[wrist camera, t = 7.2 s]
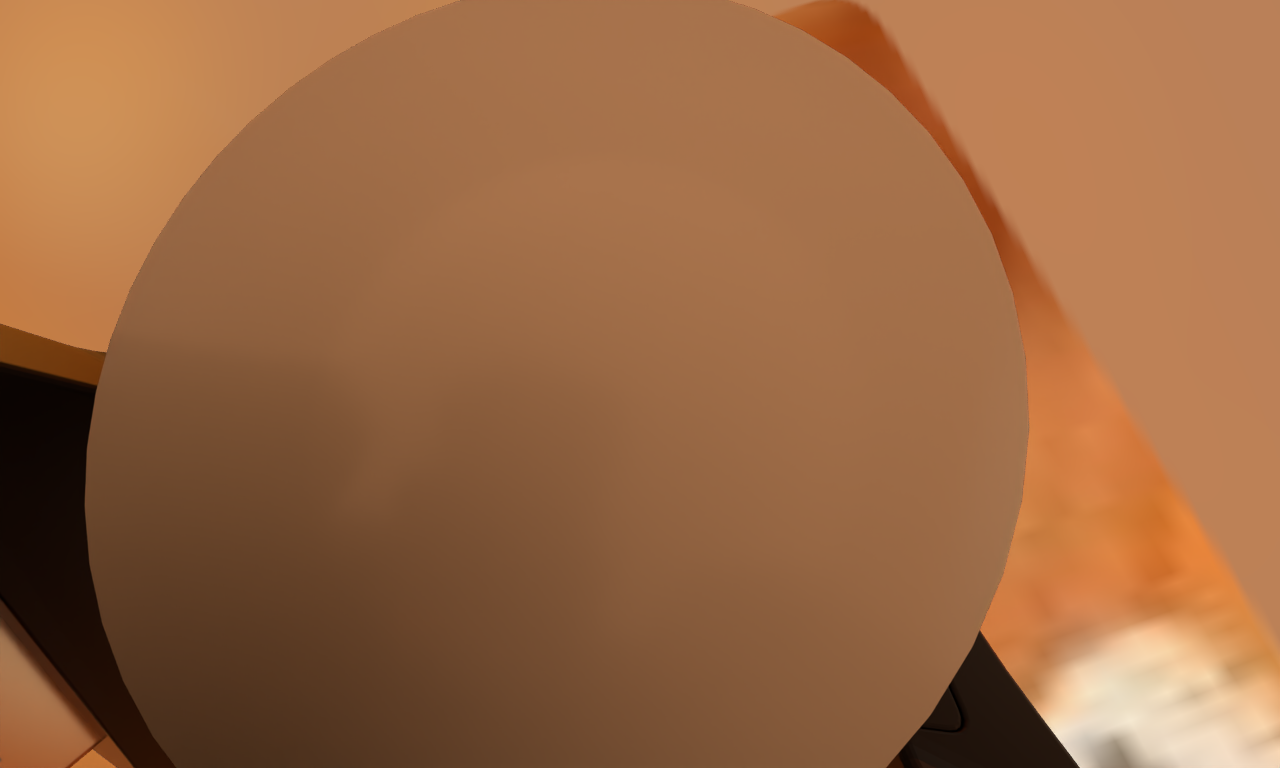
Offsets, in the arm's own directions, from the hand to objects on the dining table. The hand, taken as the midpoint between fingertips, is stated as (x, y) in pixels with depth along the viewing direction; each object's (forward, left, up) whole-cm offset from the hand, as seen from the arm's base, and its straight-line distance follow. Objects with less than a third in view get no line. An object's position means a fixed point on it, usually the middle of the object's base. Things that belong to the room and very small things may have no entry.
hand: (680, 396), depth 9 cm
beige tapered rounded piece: (-1, +1, -7) cm, 7 cm away
